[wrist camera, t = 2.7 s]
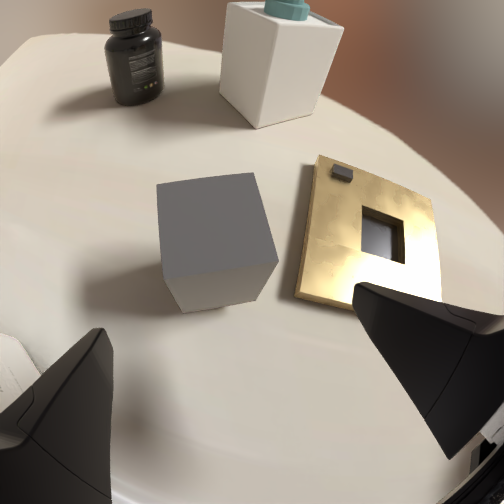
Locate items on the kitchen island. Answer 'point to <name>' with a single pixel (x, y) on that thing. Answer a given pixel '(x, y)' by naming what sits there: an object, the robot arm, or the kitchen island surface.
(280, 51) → the soap bottle
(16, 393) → the photo printer
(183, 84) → the kitchen island surface
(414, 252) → the socket
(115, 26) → the supplement bottle
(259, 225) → the plug
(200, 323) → the kitchen island surface
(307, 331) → the kitchen island surface
